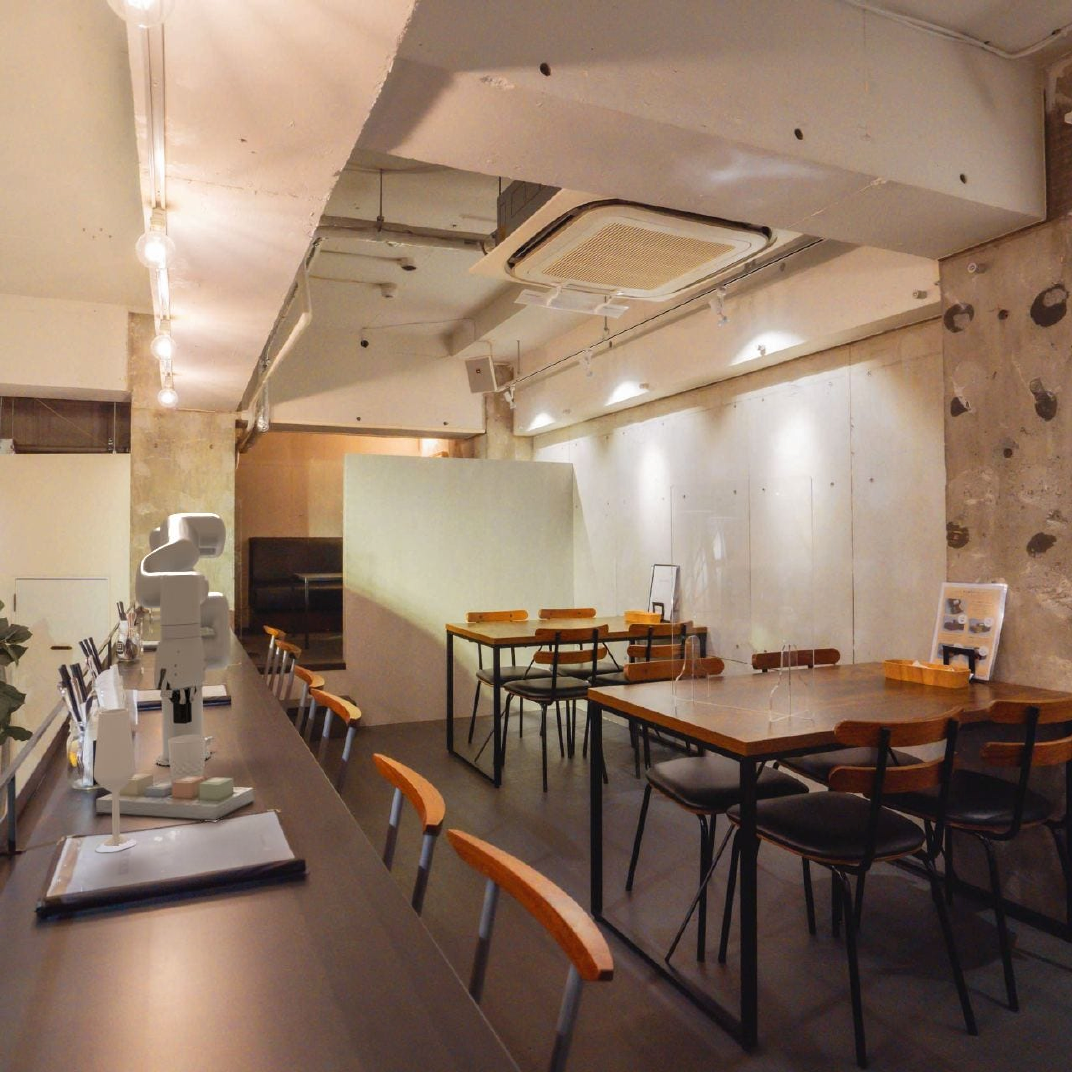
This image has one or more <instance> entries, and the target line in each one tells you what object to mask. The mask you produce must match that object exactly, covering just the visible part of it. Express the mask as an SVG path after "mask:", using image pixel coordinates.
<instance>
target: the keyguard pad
mask: <svg viewBox="0 0 1072 1072" xmlns="http://www.w3.org/2000/svg"><path fill="white" fill-rule="evenodd" d="M157 783H158V782H153V785H155V784H157ZM95 803H96V804H95V805H96V815H103V816H112V792H110V793H109V794H105V795H103V796H101V797H98V798H96V801H95ZM253 803H254V788H253V787H241V786H233V795H231V796H229V797H227V798H225V799H223V800H220V801H213V800H200V796H198V797H195V798H193V799H179V798H172V794H171V795H169V796H167V797H164V798H162V797H145V793H143V794H141V795H139V796H129V795H119V813H120V817H130V818H133V817H134V818H135V817H136V818H147V819H148V818H149V819H159V820H160V819H161V820H174V821H175V820H176V821H190V822H191V821H193V822H205V820H218V819H221V818H223V819H225V818H226V817H229V816H231V815H232V814H234V813H236V812H238V811H240V810H242V809H244V808H246V807H247V806H249V805H252V804H253ZM224 817H225V818H224ZM221 820H222V819H221Z"/></svg>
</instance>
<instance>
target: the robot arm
mask: <svg viewBox="0 0 1072 1072" xmlns="http://www.w3.org/2000/svg"><path fill="white" fill-rule="evenodd" d="M226 538H227V532H226V526H225V523H224V521H223V519H222V517H221V516H219V515H217V514H215V513H175V514H171V515H169V516H167V517H165V518H164V519H163V520H162V521H161V523H160V526H159V527H156V528H154V529H151V531H150V532H149V535H148V541H149V549H150V553H148V554H147V555H145V557H144V558H142V559H141V560H140V562H139V564H138V566H137V569H136V572H135V585H134V594H135V599H136V601H137V603H138V605H140V606H141V607H143V608H145V609H160V611H159V612H160V613H159V615H160V621H159V623H160V641H158V642H157V646H156V651H155V656H154V657H155V658H154V670H153V671H154V672H153V674H154V675H153V686H154V689H155V690H157V691H160V693H159V694H160V695H159V696H160V698H161V718H162V719H161V722H162V723H161V724H162V728H161V729H162V731H161V732H162V754H160V755H158V756H157V757H156V759H155V762H156V764H157V763H158V765H159V764H161V765H160V766H167V765H170V763H169V750H168V740H169V739H171V738H173V737H177V736H182V735H191V734H200V735H204V703H203V700H204V698H203V696H204V695H203V683H204V682H205V681H206V672H212V671H220V670H224V669H227V668H228V667H229V666H230V664H231V659H232V639H231V638H232V637H231V636H232V635H231V613H230V603H229V599H228V598H227V596H226V595H225V594H224V593H222V592H217V591H210V584H209V579H208V578H206V576H205V575H204V574H203V573H202V572H198V571H197V570H196V569H195V568H194V567H195V566H196V565H197V563H198V562H199V560H200V559H214V558H215V559H216V558H219V557H220V556H222V554H223V553H224V549H225V545H226ZM201 630H210V631H211V632H212V633H210V634H209V633H208V634H206V633H205V634H202V633H201V632H202V631H201ZM213 743H215V737H214V736H212V735H210V736H208V737H205V760H207V759H209V758H210V757H211V751H210V750H208V749H206V747H207V746H209V745H211V744H213ZM206 758H207V759H206Z"/></svg>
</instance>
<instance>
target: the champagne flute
mask: <svg viewBox="0 0 1072 1072" xmlns="http://www.w3.org/2000/svg"><path fill="white" fill-rule="evenodd" d="M130 717H131V716H130V709H129V708H112V709H107V710H106V709H105V710H102V711H100V712H98V720H97V722H98V723H97V734H96V744H95V754H94V755H95V757H94V767H93V779H94V780H95V781H96V783H97V784H98V785H99V786H101V787H102V788H104V789H105V790H106V791H109V792H110V793H112V815H111V823H112V825H111V827H112V828H111V829H112V830H111V831H112V834H111V836H110V837H109V838H107V839H105V840H104V841H105V842H104V841H103V842H104V845H105V846H119V844H123V843H126V842H127V841H130V840H131V839H132V838H131V837H129V836H125V835H123V834H121V827H120V826H121V823H120V821H121V820H120V817H121V816H120V813H119V791H120V790H121V789H122V788H124V787H125V786H126V785H127V784H128V783H129V781H130V780H131V779H132V778H133V776H134V774H135V773H136V772H137V765H136V758H135V749H134V743H133V742H134V741H133V735H132V726H131V718H130ZM130 838H131V839H130Z"/></svg>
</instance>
